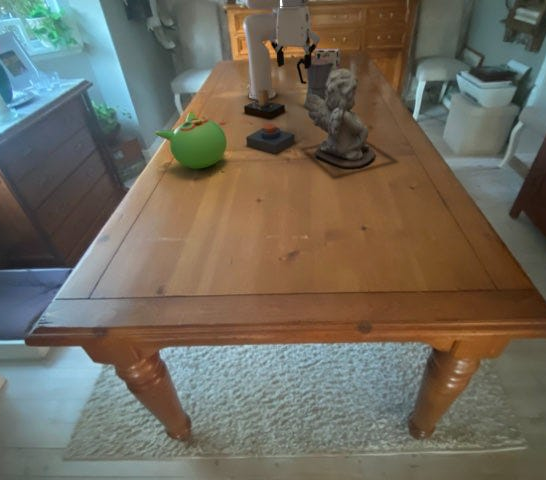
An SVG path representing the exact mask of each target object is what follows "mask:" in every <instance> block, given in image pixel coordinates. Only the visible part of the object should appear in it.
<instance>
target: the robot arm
mask: <svg viewBox="0 0 546 480" xmlns="http://www.w3.org/2000/svg"><path fill="white" fill-rule="evenodd" d="M244 2H245V6H246V7H247V8H248V10H251V11H260V10H272V12H260V13H252V14H249V15H247V16H245V18H244V19H243V22H242V27H243V32H244V36H245V37H244V38H245V41H246V47H247V56H248V65H249V76H250V77H249V78H250V83H248V84H247V86H246V90H248V91H249V94H248V97H249V98H250V99H251V100H255V101H257V100H258V91H259V90H268V91H269V100H271V99H273V98H275V97H276V95H277V94H276V93H277V92H275V90H273V82H272V81H273V80H272V65H271V64H272V63H271V62H272V61H271V52H270V50H269V48H268V47H267V45H266V44H265V43H264V42H266V41H269V42H270V45H271V47H272V49H273V50H274V52H275V53H276V63H277V67H278V68H280V67H283V66H284V65H285V54H284V53H285V52H284V50H283V49H284V47H287V48H302V50H303V51H304V53H305V54H304V55H303V56H304V57H303V59H304V64H303V65H304V66H303V67H304V70H307V69H308V68H310V65H311V59H312V54H313V52H315V50H316V49H317V48H318V44H319V42H320V36H318V35H316V33H315V32H313V31H312V28H311V16H310V10H309V6H307V3H309V2H310V0H244ZM311 43H312V44H311Z"/></svg>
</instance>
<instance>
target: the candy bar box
mask: <svg viewBox="0 0 546 480" xmlns="http://www.w3.org/2000/svg"><path fill="white" fill-rule="evenodd" d="M318 53H319V54H321V56H320V58H322V59H327V60H329V61H331V62H333V63H334V65H333V66H332V68H331V70H330V72H329V74H328V77H329V76H330V74H331V72H333V71H334V70H337V69H341V48H318V47H317V48H315V50H314V58H317V54H318ZM327 80H328V78H327ZM325 91H326V85H325Z"/></svg>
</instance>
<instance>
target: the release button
mask: <svg viewBox="0 0 546 480" xmlns="http://www.w3.org/2000/svg"><path fill="white" fill-rule="evenodd" d="M276 127H277V125H275V124H273V123H269V124H265V125H264V126H263V128H264V132H266V133H273V132H276Z"/></svg>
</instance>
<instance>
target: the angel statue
mask: <svg viewBox="0 0 546 480" xmlns="http://www.w3.org/2000/svg"><path fill="white" fill-rule="evenodd" d="M358 81H359V80H358V77H357V76H356V75H355V74H354V72H352V71H351V70H349V69H348V68H345V67H344V68H340V69H337V70H334V71H333V72H331V74H330V76H329V77H328V80H327V82H326V90H325V100H323V99H321V98H320V97H318V96H316V95H314V94H309V95H308V103H307V107H306V109H307V110H308V117H309V118H310V119H311V120H313V124H314V126H316V127H319V129H320V130H322V131H324V132H325V133H327V138H326V139H325V140H323V141H322V143H321V144H319V146H318V147H317V148H316V150H315V152H314V158H315V159H317V160H319V161H321V162H323V163H325V164H328V165H329V166H330V165H331V166H333V167H336V168H339V169H341V170H359V169H364V168H366V167H369V166H370V165H371V164H372V163H374V162H375V161H376V157H377V155H376V152H375V150H373V149H372V147H371V146H370V145H369V144H367V143H366V142H365V141H366V140H367V139H368V137H369V129H368V127H367V125H364V122H363V121H362V119H361V117H359V116H358V115H357V113H355V112H353V111H351V110H352V109H353V108H354V107H355V105H356V99H355V96H356V90H357V88H358Z"/></svg>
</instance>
